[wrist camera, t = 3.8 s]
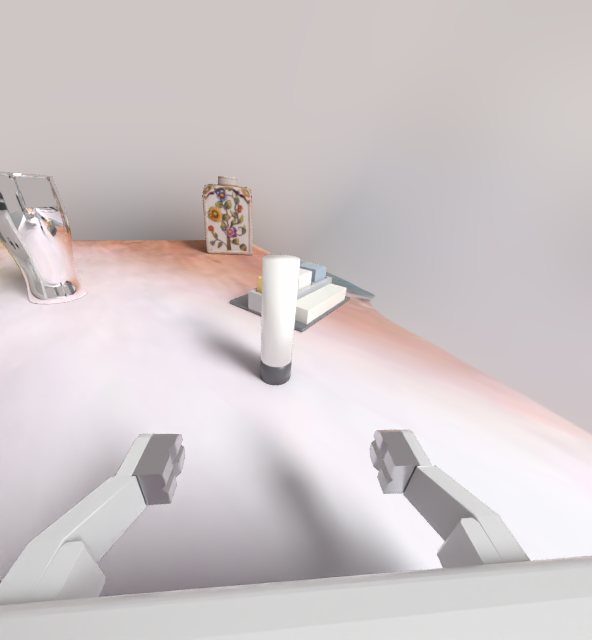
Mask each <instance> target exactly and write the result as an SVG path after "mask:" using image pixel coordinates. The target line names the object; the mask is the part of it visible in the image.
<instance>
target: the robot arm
mask: <svg viewBox="0 0 592 640" xmlns="http://www.w3.org/2000/svg"><path fill="white" fill-rule="evenodd" d="M374 438H375V440H374V441H373V442H372V443H371V446H370V457H371V461H372V464H373V466H374V467H375V468H376V469H377V470H378V471H379V472H378V476H377V478H378V480H379V483H380V486H381V488H382V491H383V494H392V493H404V494H403V495H404V496H405V497H406V498H407V499H408V500H409V502H410V503H411V504H412V505H413V506H414V507H415V508H416V509H417V511H418V512H419V513H420V514H421V515H422V516H423V517H424V518H425V519H426V521H427V522H428V523H429V524H430V525H431V526H432V527H433V528H434V530H435V531H436V532H437V533H438V534H439V535H440V536H441V537H442V539H443V540H444V541H445V542H444V543H443V544H442V546H441V547H440V549H439V550H438V553H437V556H438V558H439V560H440V562H441V565H442V567H443V568H438V569H426V570H414V571H402V572H390V573H378V574H366V575H354V576H342V577H331V578H319V579H307V580H295V581H283V582H271V583H259V584H247V585H235V586H223V587H211V588H199V589H187V590H175V591H163V592H151V593H139V594H127V595H115V596H103V597H99V596H100V593H101V591H102V589H103V586H104V584H105V581H106V578H105V575H104V574H103V572H102V571H101V569H100V568H99V566H98V565H97V563H98V562H99V561H100V559H101V558H102V557H103V556H104V555H105V554H106V553H107V551H108V550H109V549H110V548H111V547H112V546H113V545H114V543H115V542H116V541H117V540H118V539H119V538H120V537H121V535H122V534H123V533H124V532H125V531H126V530H127V529H128V527H129V526H130V525H131V524H132V523H133V522H134V521H135V519H136V518H137V517H138V516H139V515H140V514H141V513H142V511H143V510H144V509H145V508H146V505H157V504H170V503H171V501H172V498H173V495H174V492H175V489H176V486H177V482H176V477H177V476H178V475H179V474H180V473H181V471H182V468H183V464H184V459H185V449H184V447H183V446H182V445H181V443H182V440H183V439H182V435H181V434H140V435H139V436H138V437H137V438H136V440H135V441H134V443H133V445H132V447H131V448H130V450H129V452H128V454H127V456H126V457H125V459H124V461H123V463H122V465H121V466H120V468H119V470H118V472H117V473H116V475H115V476H114V477H109V478H108V479H107V480H106V481H105V482H103V483H102V484H101V485H100V486H98V487H97V488H96V489H95V490H93V491H92V492H91V493H90V494H88V495H87V496H86V497H85V498H83V499H82V500H81V501H80V502H78V503H77V504H76V505H75V506H73V507H72V508H71V509H70V510H69V511H67V512H66V513H65V514H64V515H62V516H61V517H60V518H59V519H57V520H56V521H55V522H54V523H52V524H51V525H50V526H49V527H47V528H46V529H45V530H44V531H42V532H41V533H40V534H39V535H37V536H36V537H35V538H34V539H33V540H31V541H30V542H29V543H28V544H27V546H26V547H25V549H24V550H23V551H22V553H21V554H20V556H19V557H18V559H17V560H16V561H15V563H14V564H13V566H12V567H11V569H10V570H9V571H8V573H7V574H6V576H5V577H4V578H3V580H2V581H1V583H0V640H592V556H582V557H570V558H558V559H546V560H534V561H530V559H529V558H528V557H527V555H526V554H525V552H524V551H523V549H522V548H521V546H520V545H519V544H518V542H517V541H516V539H515V538H514V536H513V535H512V534H511V532H510V531H509V529H508V528H507V526H506V525H505V524H504V522H503V521H502V519H501V518H500V516H499V515H498V514H496V513H495V512H494V511H493V510H491V509H490V508H489V507H488V506H486V505H485V504H484V503H483V502H481V501H480V500H479V499H478V498H476V497H475V496H474V495H472V494H471V493H470V492H469V491H467V490H466V489H465V488H464V487H462V486H461V485H460V484H459V483H457V482H456V481H455V480H453V479H452V478H451V477H450V476H448V475H447V474H446V473H445V472H443V471H442V470H441V469H440V468H438V467H437V466H433V465H432V464H431V462H430V460H429V459H428V457H427V455H426V454H425V452H424V450H423V449H422V447H421V445H420V444H419V442H418V440H417V438H416V437H415V435H414V433H413V432H412V431H411V430H377V431H376V432H375V433H374Z"/></svg>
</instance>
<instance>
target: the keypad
mask: <svg viewBox="0 0 592 640" xmlns="http://www.w3.org/2000/svg"><path fill="white" fill-rule="evenodd" d="M331 282H332V277H328V276H325V279H323V280H321V281H318V282H316V283H314V282H311V285H309V286H307V287H305V288H303V289H300V290H298V291H297V303H296V314H295V326H294V329H295V330H298V331H300V332H303V331H305V330H306V329H307V328H309V327H310V326H312V325H313V324H315V323H316V322H318V321H319V320H321V319H322V318H323V317H325V316H326V315H328V314H329V313H331V312H332V311H334V310H335V309H336V308H338V307H339V306H341V305H342V304H344V303H345V302H347V301H348V300H349V299H350V297H347V296H345V294H346V289H347V288H345V287H341V286H338V285H334V284H331ZM230 304H233V305H235V306H238V307H240V308H243V309H245V310H248V311H250V312H253V313H255V314H258V315H260V316H262V293H259V292H257V288H255V289H252V290H249V291H248V294H247V295H244V296H242V297H239V298H236V299H233V300H230Z"/></svg>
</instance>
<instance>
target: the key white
mask: <svg viewBox="0 0 592 640" xmlns="http://www.w3.org/2000/svg"><path fill="white" fill-rule="evenodd" d="M311 277H312V271H309V270H305V269H301V268H299V279H298V290H300V289H303V288H305V287H307V286H309V285H311Z"/></svg>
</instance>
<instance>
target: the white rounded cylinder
mask: <svg viewBox="0 0 592 640" xmlns="http://www.w3.org/2000/svg"><path fill="white" fill-rule="evenodd" d="M299 268H300V259H299V258H297V257H294V256H290V255H284V254H270V255H265V256H263V257H262V316H261V379H262V380H263V381H264V382H266V383H267V384H271V385H281V384H284V383H286V382H287V381H288V380H289V378H290V372H291V361H292V349H293V338H294V326H295V314H296V303H297V291H298V279H299Z"/></svg>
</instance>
